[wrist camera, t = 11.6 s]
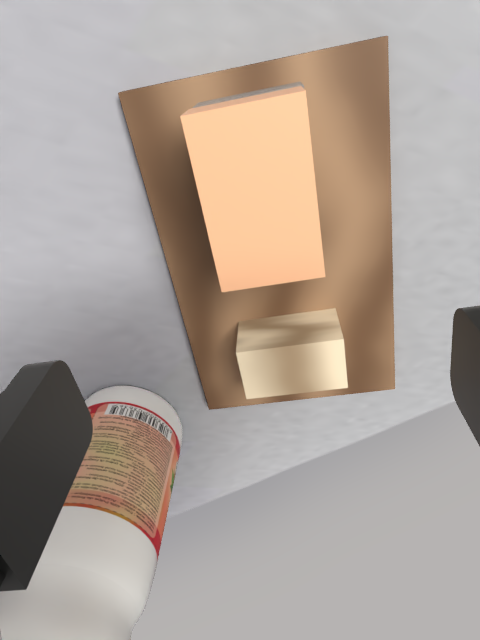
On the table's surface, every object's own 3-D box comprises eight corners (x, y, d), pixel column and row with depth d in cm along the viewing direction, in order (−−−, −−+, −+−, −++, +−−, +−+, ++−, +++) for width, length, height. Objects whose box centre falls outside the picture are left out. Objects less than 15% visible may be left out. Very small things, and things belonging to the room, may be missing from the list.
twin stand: (210, 401, 39) (203, 445, 35) (122, 91, 27) (95, 100, 23) (391, 381, 37) (408, 425, 33) (383, 36, 25) (408, 34, 21)
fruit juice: (163, 372, 38) (-15, 950, 14) (198, 452, 42) (110, 991, 18) (60, 392, 39) (-264, 940, 15) (104, 467, 44) (-91, 980, 20)
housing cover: (188, 108, 20) (180, 116, 18) (301, 85, 20) (305, 90, 18) (225, 270, 24) (221, 292, 22) (319, 256, 24) (325, 277, 22)
